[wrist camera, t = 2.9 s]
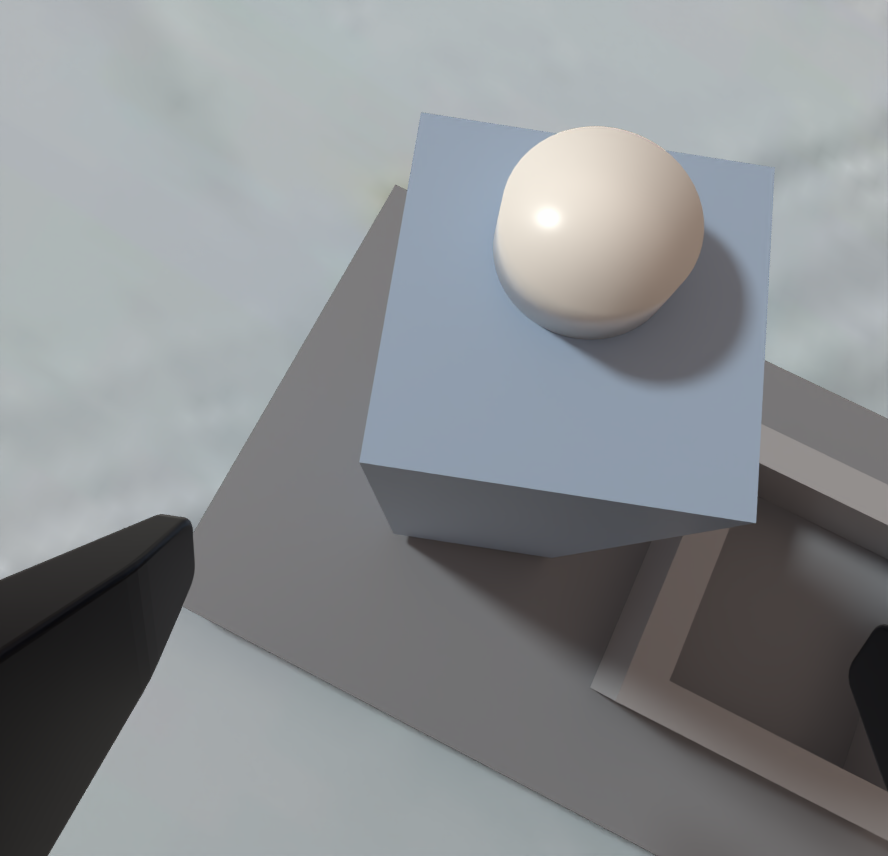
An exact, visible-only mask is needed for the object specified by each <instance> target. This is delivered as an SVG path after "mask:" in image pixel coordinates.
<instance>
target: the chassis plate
mask: <svg viewBox="0 0 888 856" xmlns="http://www.w3.org/2000/svg"><path fill="white" fill-rule="evenodd" d="M406 195H407V190H406V189H404V188H401V187H399V186H397V185H395V187H394V188H393V190H392V192H391V193H390V195H389V197H388V199H387V200H386V202H385V204H384V205H383V207H382V209H381V211H380V212H379V214H378V216H377V218H376V219H375V221H374V223H373V224H372V226H371V228H370V230H369V231H368V233H367V235H366V236H365V238H364V240H363V242H362V243H361V245H360V247H359V248H358V250H357V252H356V254H355V255H354V257H353V259H352V261H351V262H350V264H349V266H348V267H347V269H346V271H345V273H344V274H343V276H342V278H341V279H340V281H339V283H338V285H337V286H336V288H335V290H334V292H333V293H332V295H331V297H330V298H329V300H328V302H327V304H326V305H325V307H324V309H323V310H322V312H321V314H320V316H319V317H318V319H317V321H316V323H315V324H314V326H313V328H312V329H311V331H310V333H309V335H308V336H307V338H306V340H305V341H304V343H303V345H302V347H301V348H300V350H299V352H298V353H297V355H296V357H295V359H294V360H293V362H292V364H291V366H290V367H289V369H288V371H287V372H286V374H285V376H284V378H283V379H282V381H281V383H280V384H279V386H278V388H277V390H276V391H275V393H274V395H273V397H272V398H271V400H270V402H269V403H268V405H267V407H266V409H265V410H264V412H263V414H262V415H261V417H260V419H259V421H258V422H257V424H256V426H255V428H254V429H253V431H252V433H251V434H250V436H249V438H248V440H247V441H246V443H245V445H244V446H243V448H242V450H241V452H240V453H239V455H238V457H237V458H236V460H235V462H234V464H233V465H232V467H231V469H230V471H229V472H228V474H227V476H226V477H225V479H224V481H223V483H222V484H221V486H220V488H219V489H218V491H217V493H216V495H215V496H214V498H213V500H212V502H211V503H210V505H209V507H208V508H207V510H206V512H205V514H204V515H203V517H202V519H201V520H200V522H199V524H198V526H197V527H196V529H195V531H194V533H193V542H194V556H195V573H194V578H193V581H192V585H191V587H190V590H189V592H188V594H187V597H186V599H185V601H184V604H183V607H184V608H186V609H188V610H190V611H192V612H194V613H196V614H198V615H200V616H202V617H203V618H205V619H207V620H209V621H211V622H213V623H215V624H217V625H219V626H221V627H223V628H224V629H226V630H228V631H230V632H232V633H234V634H236V635H238V636H240V637H242V638H243V639H245V640H247V641H249V642H251V643H253V644H255V645H257V646H259V647H261V648H263V649H264V650H266V651H268V652H270V653H272V654H274V655H276V656H278V657H280V658H282V659H283V660H285V661H287V662H289V663H291V664H293V665H295V666H297V667H299V668H301V669H303V670H304V671H306V672H308V673H310V674H312V675H314V676H316V677H318V678H320V679H322V680H323V681H325V682H327V683H329V684H331V685H333V686H335V687H337V688H339V689H341V690H343V691H344V692H346V693H348V694H350V695H352V696H354V697H356V698H358V699H360V700H362V701H363V702H365V703H367V704H369V705H371V706H373V707H375V708H377V709H379V710H381V711H383V712H384V713H386V714H388V715H390V716H392V717H394V718H396V719H398V720H400V721H402V722H403V723H405V724H407V725H409V726H411V727H413V728H415V729H417V730H419V731H421V732H423V733H424V734H426V735H428V736H430V737H432V738H434V739H436V740H438V741H440V742H442V743H444V744H445V745H447V746H449V747H451V748H453V749H455V750H457V751H459V752H461V753H463V754H464V755H466V756H468V757H470V758H472V759H474V760H476V761H478V762H480V763H482V764H484V765H485V766H487V767H489V768H491V769H493V770H495V771H497V772H499V773H501V774H503V775H504V776H506V777H508V778H510V779H512V780H514V781H516V782H518V783H520V784H522V785H524V786H525V787H527V788H529V789H531V790H533V791H535V792H537V793H539V794H541V795H543V796H544V797H546V798H548V799H550V800H552V801H554V802H556V803H558V804H560V805H562V806H564V807H565V808H567V809H569V810H571V811H573V812H575V813H577V814H579V815H581V816H583V817H584V818H586V819H588V820H590V821H592V822H594V823H596V824H598V825H600V826H602V827H604V828H605V829H607V830H609V831H611V832H613V833H615V834H617V835H619V836H621V837H623V838H624V839H626V840H628V841H630V842H632V843H634V844H636V845H638V846H640V847H642V848H644V849H645V850H647V851H649V852H651V853H653V854H655V855H657V856H888V792H887V789H886V787H885V784H884V782H883V779H882V777H881V774H880V771H879V769H878V766H877V763H876V760H875V757H874V754H873V752H872V749H871V746H870V743H869V740H868V737H867V734H866V732H865V729H864V726H863V723H862V720H861V717H860V714H859V712H858V709H857V706H856V703H855V700H854V697H853V694H852V692H851V689H850V685H849V678H848V675H849V668H850V665H851V663H852V661H853V659H854V658H855V656H856V655H857V653H858V652H859V650H860V649H861V647H862V646H863V644H864V643H865V641H866V640H867V638H868V637H869V636H870V634H871V633H872V631H873V630H874V629H875V628H876V627H877V626H879V625H882V624H888V419H887V418H885V417H883V416H881V415H879V414H877V413H875V412H872V411H870V410H868V409H866V408H864V407H862V406H860V405H858V404H856V403H854V402H851V401H849V400H847V399H845V398H843V397H841V396H839V395H837V394H835V393H833V392H830V391H828V390H826V389H824V388H822V387H820V386H818V385H816V384H814V383H812V382H809V381H807V380H805V379H803V378H801V377H799V376H797V375H795V374H793V373H790V372H788V371H786V370H784V369H782V368H780V367H778V366H776V365H774V364H772V363H769V362H767V361H765V362H764V382H763V401H762V420H761V439H760V458H759V477H758V496H757V515H756V523H754V524H748V525H742V526H736V527H730V528H725V529H719V530H713V531H707V532H701V533H695V534H689V535H684V536H678V537H672V538H666V539H660V540H654V541H648V542H642V543H637V544H631V545H625V546H619V547H613V548H607V549H601V550H596V551H590V552H584V553H578V554H572V555H566V556H560V557H555V558H548V557H542V556H535V555H529V554H522V553H516V552H509V551H502V550H496V549H489V548H483V547H476V546H470V545H463V544H457V543H450V542H444V541H437V540H430V539H424V538H417V537H411V536H404V535H398V534H394V533H393V531H392V529H391V527H390V525H389V523H388V521H387V519H386V517H385V515H384V513H383V511H382V509H381V506H380V504H379V502H378V500H377V498H376V496H375V494H374V492H373V490H372V488H371V486H370V484H369V482H368V480H367V477H366V475H365V473H364V471H363V469H362V467H361V465H360V463H359V461H360V455H361V449H362V444H363V438H364V432H365V427H366V421H367V415H368V410H369V404H370V398H371V393H372V387H373V382H374V376H375V370H376V365H377V359H378V353H379V348H380V342H381V336H382V331H383V325H384V319H385V314H386V308H387V302H388V297H389V291H390V286H391V280H392V274H393V269H394V263H395V257H396V252H397V246H398V240H399V235H400V229H401V223H402V218H403V212H404V206H405V201H406Z"/></svg>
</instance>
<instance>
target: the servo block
mask: <svg viewBox="0 0 888 856" xmlns="http://www.w3.org/2000/svg"><path fill="white" fill-rule="evenodd" d="M774 171H775V167H768V166H762V165H755V164H749V163H743V162H736V161H730V160H723V159H717V158H711V157H704V156H698V155H691V154H685V153H679V152H672V151H666V150H664V149H663V148H661V147H660V146H658V145H657V144H655V143H654V142H652V141H650V140H648V139H646V138H644V137H642V136H640V135H638V134H635V133H632V132H629V131H626V130H622V129H617V128H612V127H602V126H591V127H580V128H574V129H570V130H566V131H562V132H560V133H550V132H544V131H538V130H531V129H525V128H518V127H512V126H505V125H499V124H493V123H486V122H480V121H473V120H467V119H461V118H454V117H448V116H441V115H435V114H429V113H422V112H421V116H420V122H419V127H418V133H417V139H416V144H415V150H414V156H413V161H412V167H411V173H410V178H409V184H408V190H407V195H406V201H405V206H404V212H403V218H402V223H401V229H400V235H399V240H398V246H397V252H396V257H395V263H394V269H393V274H392V280H391V286H390V291H389V297H388V302H387V308H386V314H385V319H384V325H383V331H382V336H381V342H380V348H379V353H378V359H377V365H376V370H375V376H374V382H373V387H372V393H371V398H370V404H369V410H368V415H367V421H366V427H365V432H364V438H363V444H362V449H361V455H360V461H359V463H360V465H361V467H362V469H363V471H364V473H365V475H366V477H367V480H368V482H369V484H370V486H371V488H372V490H373V492H374V494H375V496H376V498H377V500H378V502H379V504H380V506H381V509H382V511H383V513H384V515H385V517H386V519H387V521H388V523H389V525H390V527H391V529H392V531H393V533H394V534H398V535H404V536H411V537H417V538H424V539H430V540H437V541H444V542H450V543H457V544H463V545H470V546H476V547H483V548H489V549H496V550H502V551H509V552H516V553H522V554H529V555H535V556H542V557H548V558H555V557H560V556H566V555H572V554H578V553H584V552H590V551H596V550H601V549H607V548H613V547H619V546H625V545H631V544H637V543H642V542H648V541H654V540H660V539H666V538H672V537H678V536H684V535H689V534H695V533H701V532H707V531H713V530H719V529H725V528H730V527H736V526H742V525H748V524H754V523H756V515H757V496H758V477H759V458H760V439H761V420H762V401H763V382H764V362H765V343H766V324H767V305H768V286H769V267H770V248H771V229H772V209H773V190H774Z"/></svg>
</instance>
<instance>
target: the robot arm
mask: <svg viewBox="0 0 888 856" xmlns="http://www.w3.org/2000/svg"><path fill="white" fill-rule="evenodd" d="M194 573H195V556H194V542H193V528H192V524H191V522H190V521H189V520H188V519H187V518H184V517H178V516H171V515H165V514H160V515H156V516H153V517H151V518H148V519H146V520H143V521H141V522H139V523H136V524H134V525H131V526H129V527H127V528H124V529H122V530H119V531H117V532H115V533H112V534H110V535H107V536H105V537H102V538H100V539H98V540H95V541H93V542H90V543H88V544H86V545H83V546H81V547H78V548H76V549H74V550H71V551H69V552H66V553H64V554H62V555H59V556H57V557H54V558H52V559H49V560H47V561H45V562H42V563H40V564H37V565H35V566H33V567H30V568H28V569H25V570H23V571H21V572H18V573H16V574H13V575H11V576H8V577H6V578H4V579H1V580H0V856H48V854H49V853H50V851H51V849H52V848H53V846H54V844H55V842H56V841H57V839H58V837H59V836H60V834H61V832H62V830H63V829H64V827H65V825H66V824H67V822H68V820H69V819H70V817H71V815H72V813H73V812H74V810H75V808H76V807H77V805H78V803H79V801H80V800H81V798H82V796H83V795H84V793H85V791H86V789H87V788H88V786H89V784H90V783H91V781H92V779H93V777H94V776H95V774H96V772H97V771H98V769H99V767H100V765H101V764H102V762H103V760H104V759H105V757H106V755H107V754H108V752H109V750H110V748H111V747H112V745H113V743H114V742H115V740H116V738H117V736H118V735H119V733H120V731H121V730H122V728H123V726H124V724H125V723H126V721H127V719H128V718H129V716H130V714H131V712H132V711H133V709H134V707H135V706H136V704H137V702H138V700H139V699H140V697H141V695H142V694H143V692H144V690H145V688H146V686H147V684H148V683H149V681H150V679H151V677H152V675H153V673H154V671H155V668H156V666H157V664H158V662H159V659H160V657H161V655H162V653H163V650H164V648H165V646H166V643H167V641H168V639H169V636H170V634H171V632H172V629H173V627H174V625H175V622H176V620H177V618H178V615H179V613H180V611H181V608H182V606H183V604H184V601H185V599H186V597H187V594H188V592H189V590H190V587H191V585H192V581H193V578H194ZM848 678H849V685H850V689H851V692H852V694H853V697H854V700H855V703H856V706H857V709H858V712H859V714H860V717H861V720H862V723H863V726H864V729H865V732H866V734H867V737H868V740H869V743H870V746H871V749H872V752H873V754H874V757H875V760H876V763H877V766H878V769H879V771H880V774H881V777H882V779H883V782H884V784H885V787H886V789H887V792H888V624H882V625H879V626H877V627H876V628H875V629H874V630H873V631H872V633H871V634H870V636H869V637H868V638H867V640H866V641H865V643H864V644H863V646H862V647H861V649H860V650H859V652H858V653H857V655H856V656H855V658H854V659H853V661H852V663H851V665H850V668H849V675H848Z"/></svg>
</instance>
